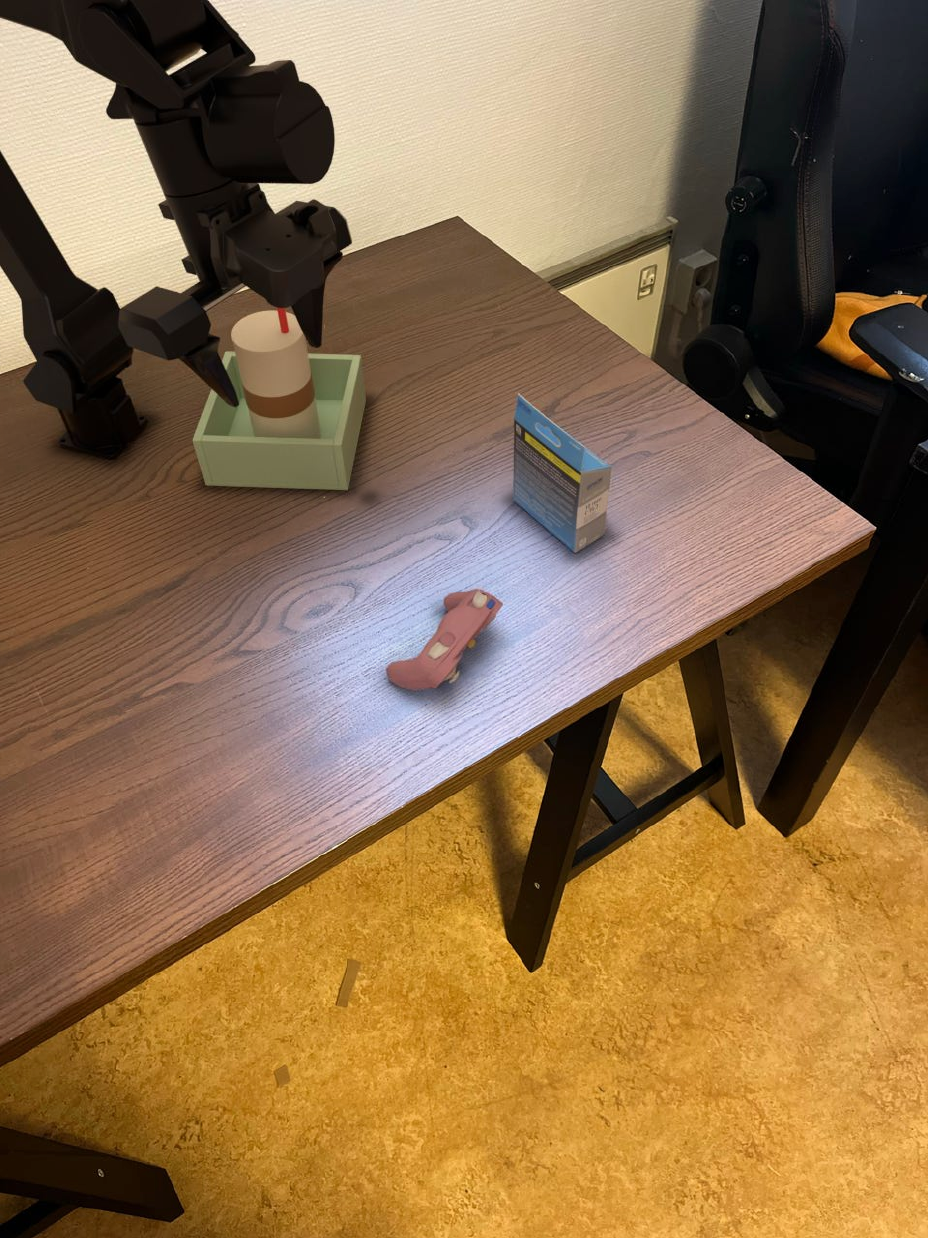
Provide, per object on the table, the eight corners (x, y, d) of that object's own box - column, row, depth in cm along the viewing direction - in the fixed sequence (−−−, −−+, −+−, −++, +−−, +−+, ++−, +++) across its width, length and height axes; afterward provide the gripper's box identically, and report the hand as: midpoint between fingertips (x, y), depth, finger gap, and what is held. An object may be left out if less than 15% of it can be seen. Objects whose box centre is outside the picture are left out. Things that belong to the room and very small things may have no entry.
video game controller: (422, 714, 74) (454, 686, 68) (377, 677, 74) (406, 645, 68) (486, 631, 79) (522, 597, 74) (445, 596, 79) (477, 559, 73)
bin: (205, 485, 89) (191, 440, 85) (236, 396, 98) (225, 350, 93) (347, 490, 88) (341, 444, 84) (366, 399, 97) (361, 354, 93)
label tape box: (605, 536, 84) (622, 427, 75) (571, 556, 83) (583, 448, 73) (542, 483, 89) (549, 374, 79) (508, 502, 87) (512, 393, 78)
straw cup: (249, 457, 91) (212, 306, 78) (262, 414, 95) (229, 264, 82) (315, 459, 91) (289, 308, 78) (326, 416, 95) (302, 266, 82)
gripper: (166, 258, 56) (255, 466, 67) (375, 133, 65) (423, 337, 76) (68, 233, 63) (165, 428, 74) (271, 122, 71) (330, 312, 82)
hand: (276, 375), depth 76 cm, fingers open, 9 cm apart
